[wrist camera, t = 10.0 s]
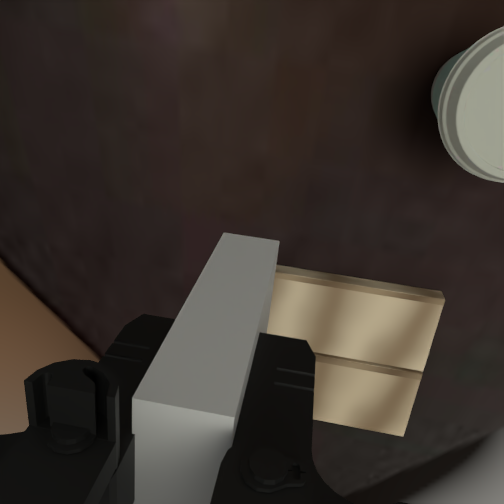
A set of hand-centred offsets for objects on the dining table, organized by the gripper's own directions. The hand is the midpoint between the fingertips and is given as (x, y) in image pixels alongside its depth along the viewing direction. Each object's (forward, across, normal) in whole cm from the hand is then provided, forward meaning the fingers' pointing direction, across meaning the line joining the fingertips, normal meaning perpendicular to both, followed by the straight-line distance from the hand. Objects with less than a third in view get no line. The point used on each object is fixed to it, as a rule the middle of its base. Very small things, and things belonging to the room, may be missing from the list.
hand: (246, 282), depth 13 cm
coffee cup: (+28, +12, +4) cm, 31 cm away
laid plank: (+28, +4, -24) cm, 37 cm away
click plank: (+28, +4, -16) cm, 32 cm away
